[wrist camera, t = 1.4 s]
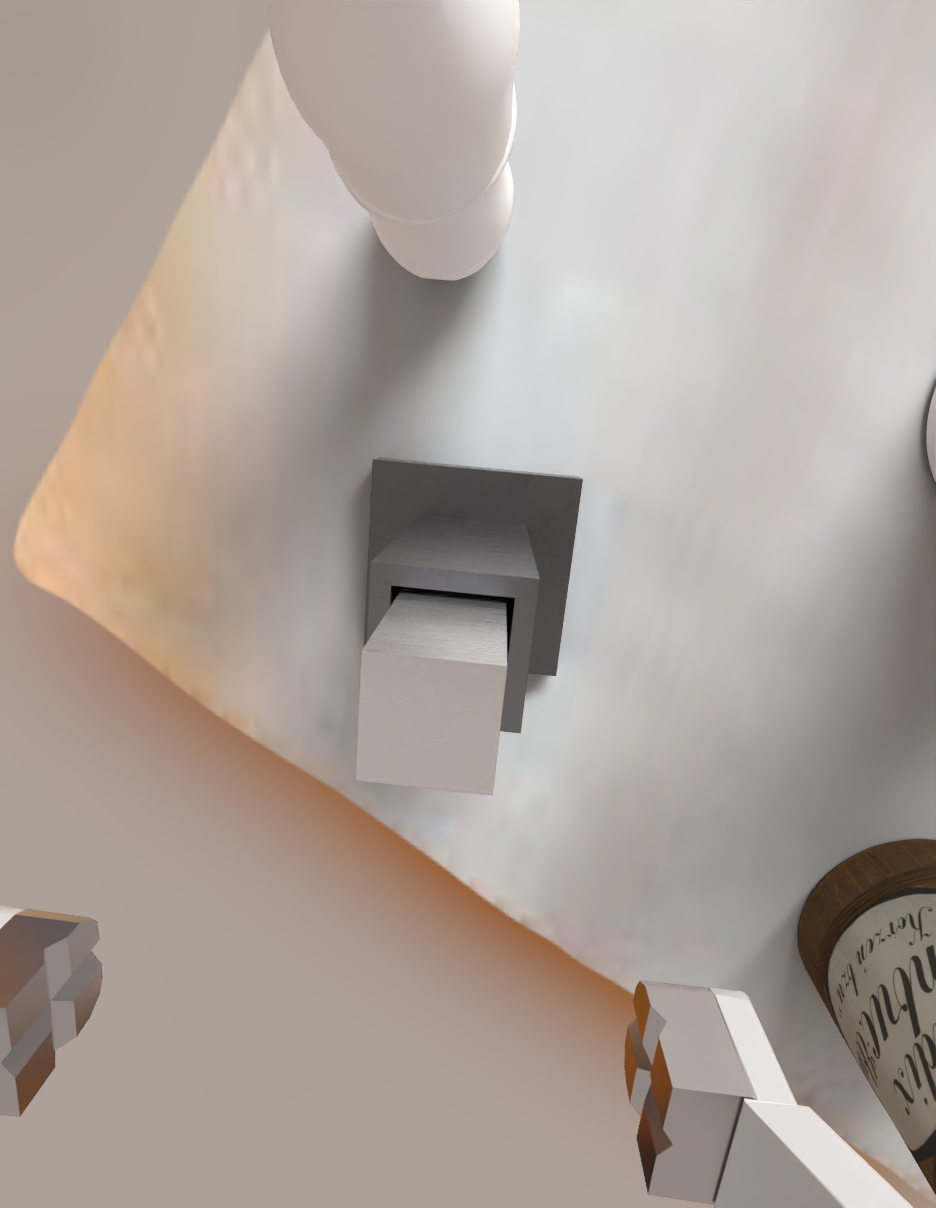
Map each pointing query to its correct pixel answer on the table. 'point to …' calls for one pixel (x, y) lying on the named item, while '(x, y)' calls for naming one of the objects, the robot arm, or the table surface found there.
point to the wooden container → (883, 977)
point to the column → (433, 692)
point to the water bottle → (412, 116)
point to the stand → (478, 552)
